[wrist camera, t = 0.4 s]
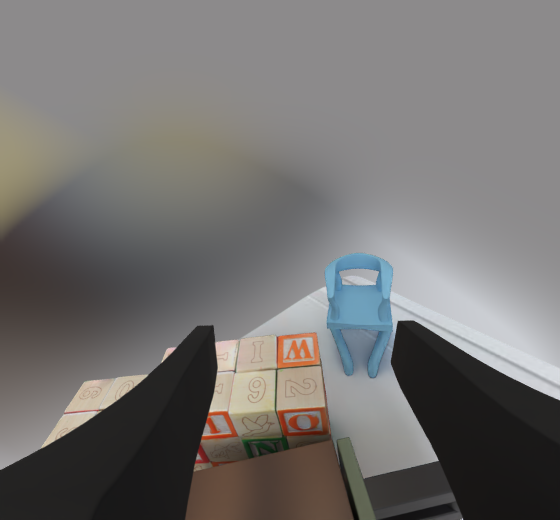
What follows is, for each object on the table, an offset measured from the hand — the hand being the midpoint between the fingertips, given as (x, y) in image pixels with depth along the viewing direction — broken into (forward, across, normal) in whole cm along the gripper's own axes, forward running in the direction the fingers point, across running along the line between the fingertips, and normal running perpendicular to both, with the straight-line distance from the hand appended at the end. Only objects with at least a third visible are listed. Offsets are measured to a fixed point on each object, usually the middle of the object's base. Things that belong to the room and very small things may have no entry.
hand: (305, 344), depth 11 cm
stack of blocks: (+9, +6, +20) cm, 23 cm away
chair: (+19, -9, +16) cm, 27 cm away
